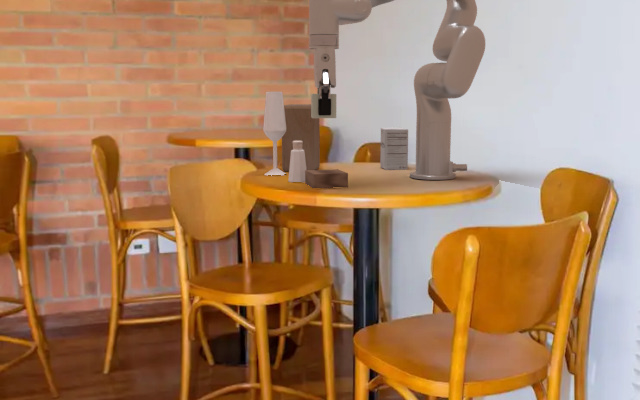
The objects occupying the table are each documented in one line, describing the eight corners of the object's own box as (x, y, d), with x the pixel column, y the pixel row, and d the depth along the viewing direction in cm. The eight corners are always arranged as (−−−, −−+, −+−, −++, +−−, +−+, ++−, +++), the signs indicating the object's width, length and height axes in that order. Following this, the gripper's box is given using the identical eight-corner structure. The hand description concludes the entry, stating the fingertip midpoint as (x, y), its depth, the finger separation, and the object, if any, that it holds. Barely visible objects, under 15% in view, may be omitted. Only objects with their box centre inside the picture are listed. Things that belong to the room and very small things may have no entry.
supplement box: (379, 167, 226) (380, 127, 224) (402, 167, 226) (403, 127, 224) (384, 170, 218) (384, 128, 216) (408, 169, 219) (408, 128, 217)
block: (313, 172, 214) (313, 105, 210) (281, 171, 216) (280, 105, 212) (320, 168, 223) (320, 104, 220) (289, 167, 225) (288, 104, 222)
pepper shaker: (310, 182, 192) (310, 141, 190) (290, 183, 190) (290, 141, 189) (304, 179, 197) (304, 139, 195) (285, 180, 196) (285, 140, 194)
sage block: (334, 117, 186) (334, 93, 185) (336, 118, 180) (336, 94, 179) (311, 117, 185) (311, 93, 184) (312, 118, 179) (312, 94, 178)
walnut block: (337, 184, 191) (337, 169, 190) (347, 188, 182) (348, 173, 182) (305, 185, 188) (305, 170, 188) (314, 190, 180) (313, 174, 179)
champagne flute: (261, 173, 211) (260, 91, 207) (283, 172, 213) (282, 91, 209) (266, 176, 205) (265, 91, 201) (289, 175, 207) (288, 91, 203)
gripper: (342, 40, 171) (341, 116, 174) (335, 45, 188) (335, 113, 191) (311, 40, 171) (310, 116, 174) (307, 44, 188) (307, 113, 191)
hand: (323, 114), depth 182 cm, fingers closed on sage block, 6 cm apart
